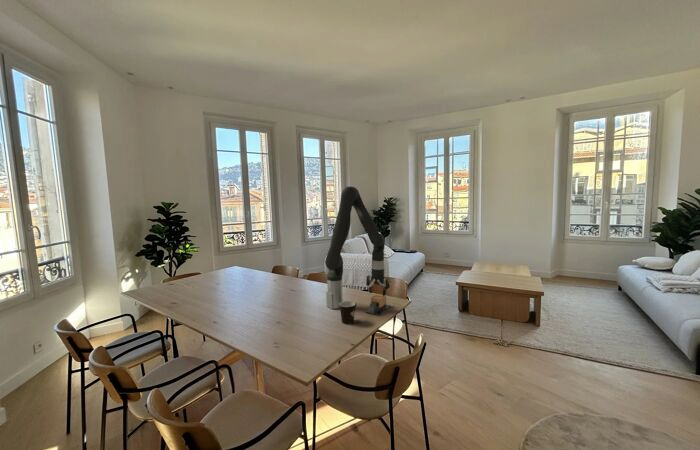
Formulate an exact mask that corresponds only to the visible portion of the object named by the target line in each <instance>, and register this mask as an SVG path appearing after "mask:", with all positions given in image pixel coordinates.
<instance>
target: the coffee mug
mask: <svg viewBox="0 0 700 450" xmlns="http://www.w3.org/2000/svg"><path fill="white" fill-rule="evenodd" d="M339 305H340V308H339V311H340V316H341V323H342V324H343V325H351V324H353V323H354V322H355V313H356V312H355V311H356V309H357V303H356V302H354V301H350V300H348V301H347V300H346V301H345V300H344V301H343V302H341V303H340V304H339Z"/></svg>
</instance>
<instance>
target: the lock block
mask: <svg viewBox="0 0 700 450" xmlns="http://www.w3.org/2000/svg"><path fill="white" fill-rule="evenodd" d="M385 296H386V295H385ZM385 296H383V294H378V293H377V294H374V295H372V296H371V297H370V303H372V302H373V301H374V302H379V307H382V306H383V305H385Z"/></svg>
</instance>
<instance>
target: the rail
mask: <svg viewBox="0 0 700 450" xmlns="http://www.w3.org/2000/svg"><path fill="white" fill-rule="evenodd" d="M391 307H392V305H390V304H387V296H386V295H385V305H383V306H382V307H379V302H374V301H373V302H372V303H371V302H370V303H369V308H368V309H367V310H365V311H364V313H365V314H368V315H375V316H381V315H382V314H383V313H385V312H386V311H387V310H389V309H390V308H391Z"/></svg>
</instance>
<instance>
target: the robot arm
mask: <svg viewBox="0 0 700 450" xmlns="http://www.w3.org/2000/svg"><path fill="white" fill-rule="evenodd" d="M353 208H354V210H355V212H356V214H357V217H358V219H359V221H360V223H361V225H362V227H363V229H364V230H365V231H366V234H367V236H368V239H369V241H370V243H371V244H372V246H373V247H372V248H373V249H372V252H371V273H370V274H371V275H367V276H366V281H365V282H366V284H365V285H366V286H367V287H368V291H369V294H372V293H373V290H374V289H373V288H374V287H373V286H374V285H378V286H380V287H381V288H382V295H383V296H386V294H387V290H388V289H390V278H385V244H386V237H385V236H384V235H383V234H382V233H380V232H379V230H378V227H377V224H376V222H375V221H374V219H373V218H372V216H371V215H370V212H369V211H368V209H367V208H366V206H365V203H364V201H363V199H362V196H361V195H360V192H359V190H358V189H357V188H356V187H354V186H345V187H344V188H342V191H341V195H340V203H339V208H338V212H337V214H336V215H337V216H336V219H335V221H334V226H333V230H332V231H333V232H332V236H331V239H330V246H329V249H328V252H327V254H326V256H325V261H324V263H325V267H326V268H327V269H328V273H327V277H326V280H327V281H326V283H327V285H326V286H327V290H326V291H325V292H326V293H325V294H326V307H327V308H329V309H330V310H337V309H340V305H339V304H340V303H341V302H344V299H343V295H344V294H343V274H344V259H343V256H342V255H341V252H342V250H343V247H344V244H345V243H346V240H347V238H348V236H349V232H350V228H351V221H352V220H351V219H352V217H351V216H352V215H351V214H352V210H353Z"/></svg>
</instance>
